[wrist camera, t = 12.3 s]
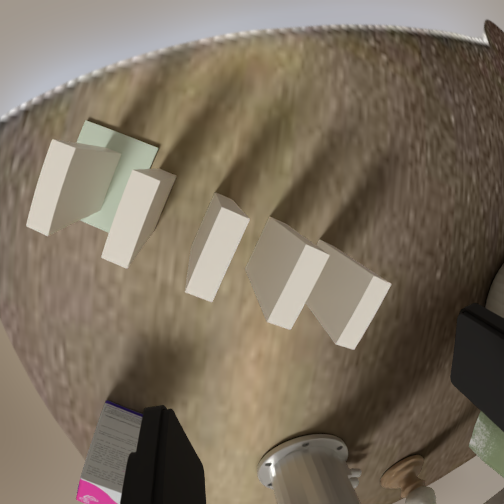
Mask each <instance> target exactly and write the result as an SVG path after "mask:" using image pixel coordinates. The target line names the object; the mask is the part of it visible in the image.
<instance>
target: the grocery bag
mask: <svg viewBox="0 0 504 504" xmlns="http://www.w3.org/2000/svg"><path fill="white" fill-rule="evenodd" d="M469 447H470V448H471V449H472V450H473V451H474V452H475V453H476V454H477V456H478V457H480V459H481V460H482V461H484V462H485V463H486V464H487V465H489V466H490V467H491V468H492V469H493V470H495V471H496V472H497V473H498V474H500V475H501V476H502V477H504V432H503V431H502V430H501V429H500V428H499V427H498V426H497V425H496V424H494V423H493V422H492V421H491V420H490V419H489V418H488V417H487V416H486V415H485V414H484V413H483V412H482V411H481V412H480V414H479V417H478V419H477V422H476V424H475V427H474V431H473V434H472V438H471V441H470V444H469Z"/></svg>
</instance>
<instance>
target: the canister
mask: <svg viewBox="0 0 504 504" xmlns="http://www.w3.org/2000/svg"><path fill="white" fill-rule="evenodd" d="M486 301H487V303H486V306H485V308H486V309H488V310H490V311H492V312H494V313H495V314H497V315H499V316H501V317H502V318H504V264H503V265H502V267H501V268H500V269H499V271H498V273H497V274H496V276H495V279H494V280H493V283H492V285H491V287H490V291H489V293H488V298H487V300H486Z"/></svg>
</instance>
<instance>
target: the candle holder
mask: <svg viewBox="0 0 504 504" xmlns="http://www.w3.org/2000/svg"><path fill="white" fill-rule="evenodd" d="M423 464H424V459H423V457H422V456H420V455H413V456H410V457H407V458H405V459H403V460H401V461H399V462H398V463H396V464H395V465H393V466H392V467H391V468H390V469H388V470H387V471H386V472H385V473H384V475H383V476H382V478H381V480H380V483H381V485H382V486H383V487H384V488H392V489H396V488H400V487H401V489H402V490H401V497H403V498H406V501H405V504H436V497H435V492H434V490H433V489H432V488H430V487H426V486H424V485H425V480H421V479H419V478H418V477H417V476H418V475H419V474H420V472H421V470H422V466H423Z"/></svg>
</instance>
